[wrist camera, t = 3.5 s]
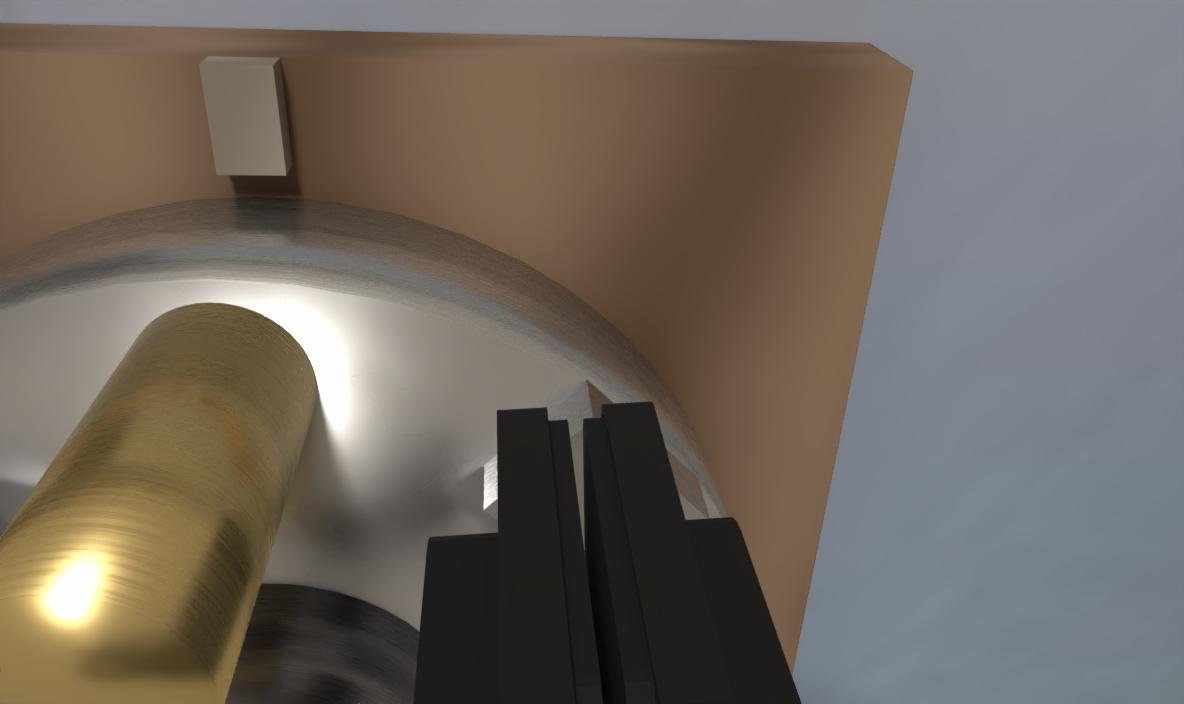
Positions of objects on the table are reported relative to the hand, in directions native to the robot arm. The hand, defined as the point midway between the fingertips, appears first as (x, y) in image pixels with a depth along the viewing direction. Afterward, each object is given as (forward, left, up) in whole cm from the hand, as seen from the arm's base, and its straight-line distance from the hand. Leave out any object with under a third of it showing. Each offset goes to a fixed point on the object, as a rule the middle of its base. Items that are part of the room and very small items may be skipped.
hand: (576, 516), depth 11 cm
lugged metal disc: (+4, +6, -6) cm, 10 cm away
